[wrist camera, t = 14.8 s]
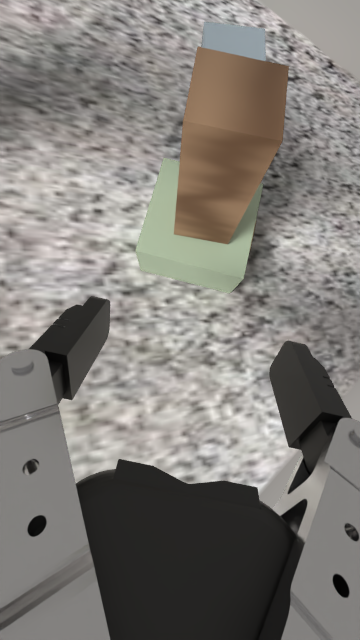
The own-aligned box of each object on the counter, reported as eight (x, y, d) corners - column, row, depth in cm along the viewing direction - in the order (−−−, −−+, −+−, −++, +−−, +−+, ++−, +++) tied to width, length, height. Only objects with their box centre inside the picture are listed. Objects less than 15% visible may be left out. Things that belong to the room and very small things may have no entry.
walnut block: (173, 234, 21) (183, 120, 11) (182, 187, 22) (197, 46, 12) (227, 244, 21) (282, 141, 12) (233, 197, 22) (288, 66, 13)
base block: (141, 271, 26) (135, 250, 21) (164, 193, 28) (163, 157, 23) (231, 294, 26) (246, 279, 21) (248, 215, 28) (266, 184, 23)
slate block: (189, 173, 28) (202, 71, 18) (191, 137, 29) (204, 21, 19) (231, 176, 28) (266, 77, 18) (231, 141, 29) (264, 28, 19)
